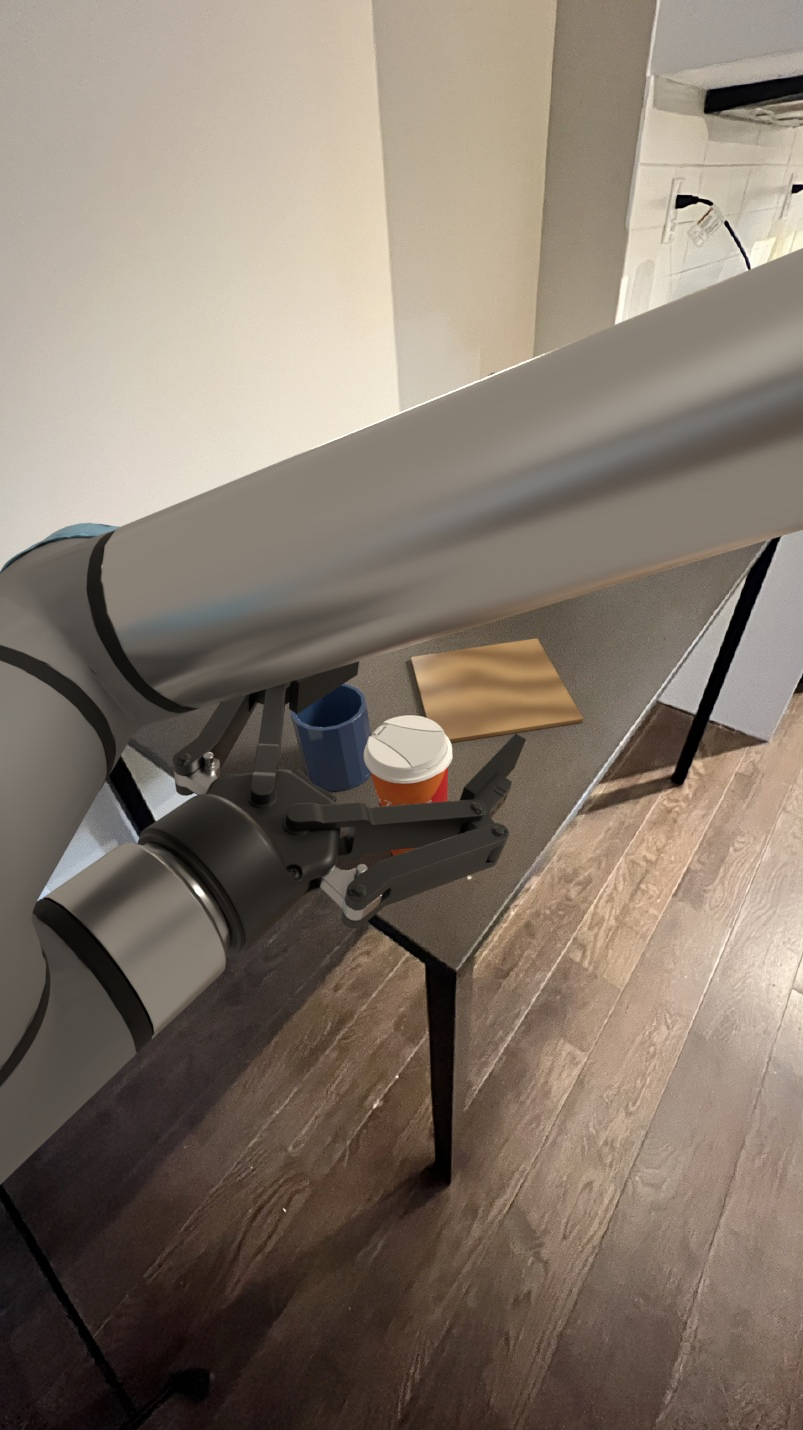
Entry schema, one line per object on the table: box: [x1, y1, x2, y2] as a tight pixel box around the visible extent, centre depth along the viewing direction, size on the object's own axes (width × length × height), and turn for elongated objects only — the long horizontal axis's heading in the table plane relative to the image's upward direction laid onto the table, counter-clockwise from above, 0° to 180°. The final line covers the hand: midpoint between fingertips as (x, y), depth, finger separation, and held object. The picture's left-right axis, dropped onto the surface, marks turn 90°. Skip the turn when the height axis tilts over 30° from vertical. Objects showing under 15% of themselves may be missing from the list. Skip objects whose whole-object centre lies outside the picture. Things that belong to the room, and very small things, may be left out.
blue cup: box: [290, 682, 372, 792], centre depth 69 cm, size 8×8×9 cm
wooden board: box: [410, 638, 584, 744], centre depth 80 cm, size 18×18×1 cm
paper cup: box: [364, 714, 454, 856], centre depth 58 cm, size 8×8×14 cm
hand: (431, 701), depth 43 cm, fingers open, 13 cm apart
